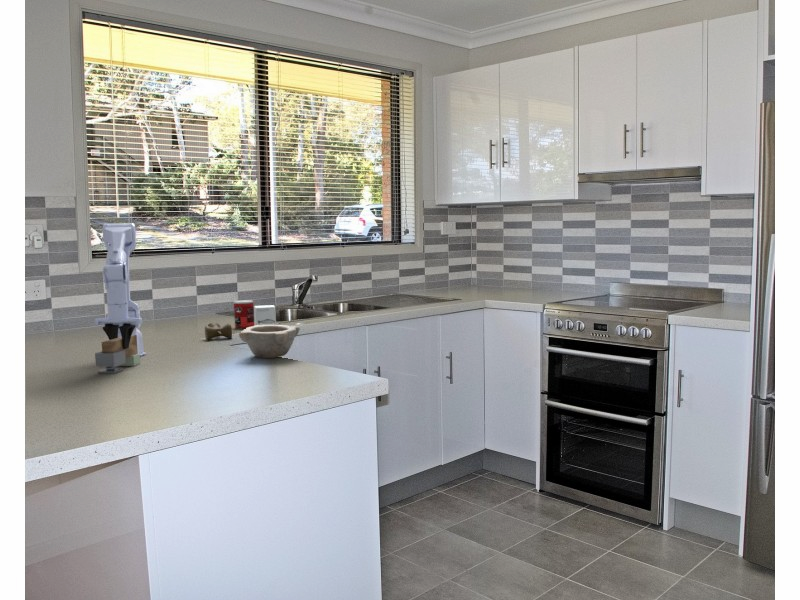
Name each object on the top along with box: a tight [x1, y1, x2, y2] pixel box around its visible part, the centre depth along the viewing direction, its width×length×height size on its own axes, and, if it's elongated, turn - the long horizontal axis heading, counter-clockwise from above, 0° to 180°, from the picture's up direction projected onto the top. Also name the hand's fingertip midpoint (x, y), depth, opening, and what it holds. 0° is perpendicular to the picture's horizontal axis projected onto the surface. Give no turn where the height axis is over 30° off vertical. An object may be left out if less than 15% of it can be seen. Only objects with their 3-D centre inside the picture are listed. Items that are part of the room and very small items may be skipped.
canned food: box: [233, 299, 255, 329], centre depth 295 cm, size 8×8×11 cm
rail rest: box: [118, 354, 141, 367], centre depth 221 cm, size 4×5×3 cm
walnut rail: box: [101, 335, 138, 358], centre depth 216 cm, size 14×3×6 cm, turn 170°
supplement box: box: [254, 304, 277, 326], centre depth 261 cm, size 7×7×13 cm
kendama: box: [204, 321, 233, 341], centre depth 270 cm, size 6×10×20 cm
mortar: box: [238, 324, 301, 359], centre depth 230 cm, size 17×17×9 cm
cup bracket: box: [94, 350, 126, 375], centre depth 211 cm, size 6×6×6 cm
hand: (120, 348), depth 216 cm, fingers closed on walnut rail, 3 cm apart
